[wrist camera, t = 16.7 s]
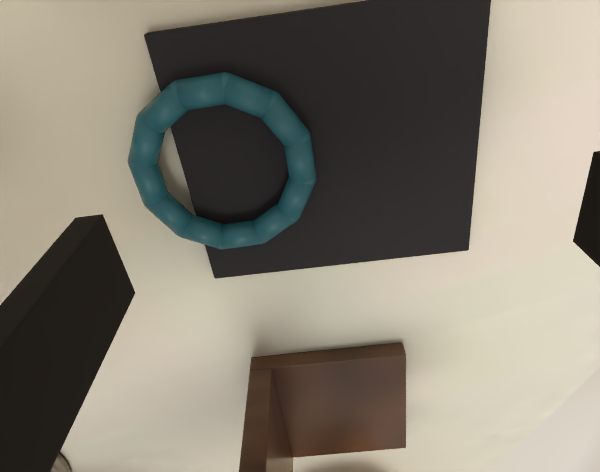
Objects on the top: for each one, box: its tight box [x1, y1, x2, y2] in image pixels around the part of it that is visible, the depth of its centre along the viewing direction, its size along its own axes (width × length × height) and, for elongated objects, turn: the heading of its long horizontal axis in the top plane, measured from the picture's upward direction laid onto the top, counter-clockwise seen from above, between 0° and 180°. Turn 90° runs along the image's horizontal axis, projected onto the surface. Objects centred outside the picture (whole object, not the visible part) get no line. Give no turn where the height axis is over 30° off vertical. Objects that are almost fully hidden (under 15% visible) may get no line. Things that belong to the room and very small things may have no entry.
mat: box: [144, 0, 491, 278], centre depth 30 cm, size 20×18×1 cm
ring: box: [128, 72, 316, 249], centre depth 29 cm, size 2×12×12 cm
